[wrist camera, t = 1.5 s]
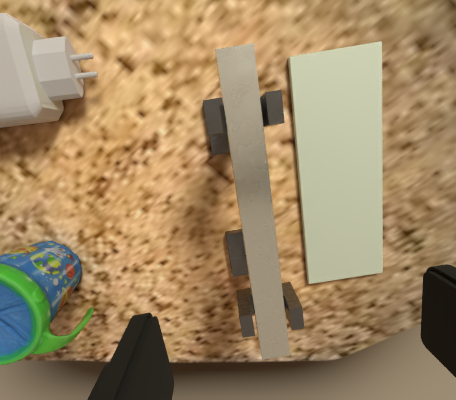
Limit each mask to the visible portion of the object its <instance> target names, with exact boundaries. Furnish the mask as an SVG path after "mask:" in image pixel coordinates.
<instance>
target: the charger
mask: <svg viewBox="0 0 456 400" xmlns="http://www.w3.org/2000/svg"><path fill="white" fill-rule="evenodd" d="M86 59H93V54H92V53H85V54H77V55H76V53H75V51H74V49H73V46H72V44H71V42H70V41H69V39H68V37H67V36H65V37H57V38H48V39H44V37H42V36H41V35H40V34H39V33H37V32H36V31H35V30H34V29H32V28H31V27H29V26H27V25H26V24H24V23H22V22H21V21H19V20H17V19H16V18H14V17H12V16H10V15H9V14H7V13H0V128H3V127H11V126H19V125H27V124H36V123H44V122H52V121H58V120H59V118H60V116H61V114H62V112H63V110H64V106H63V102H62V100H66V99H74V98H82V96H83V94H84V82H83V79H85V78H94V77H97V76H98V74H97V72H86V73H81V69H80V65H79V61H78V60H86Z"/></svg>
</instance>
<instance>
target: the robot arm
mask: <svg viewBox="0 0 456 400" xmlns="http://www.w3.org/2000/svg"><path fill="white" fill-rule="evenodd" d="M421 339H422V342H423V344H424V345H425V347H426V348H427V349H428V350H429V351H430V352H431V353H432V354H433V355H434V356H435V357H436V358H437V359H438V360H439V361H440V362H441V363H442V364H443V365H444V366H445V367H446V368H447V369H448V370H449V371H450V372H451V373H452V374H453V375H454V376H455V377H456V268H455V267H453V266H451V265H440V266H434V267H430V268H428V269H427V271H426V273H424V276H423V294H422V317H421ZM173 389H174V379H173V374H172V371H171V367H170V363H169V359H168V355H167V351H166V348H165V344H164V340H163V336H162V333H161V329H160V325H159V321H158V318H157V317H156V316H155V317H152V314H151V313H145V314H139V315H134V316H132V318H131V320H130V322H129V324H128V326H127V328H126V330H125V332H124V334H123V336H122V338H121V340H120V343H119V345H118V347H117V349H116V351H115V353H114V355H113V357H112V359H111V361H110V363H108V364H107V365H106V366H105V367H104V368H103V370H102V372H101V374H100V376H99V378H98V380H97V382H96V384H95V386H94V388H93V390H92V392H91V394H90V396H89V398H88V400H172V394H173Z"/></svg>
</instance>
